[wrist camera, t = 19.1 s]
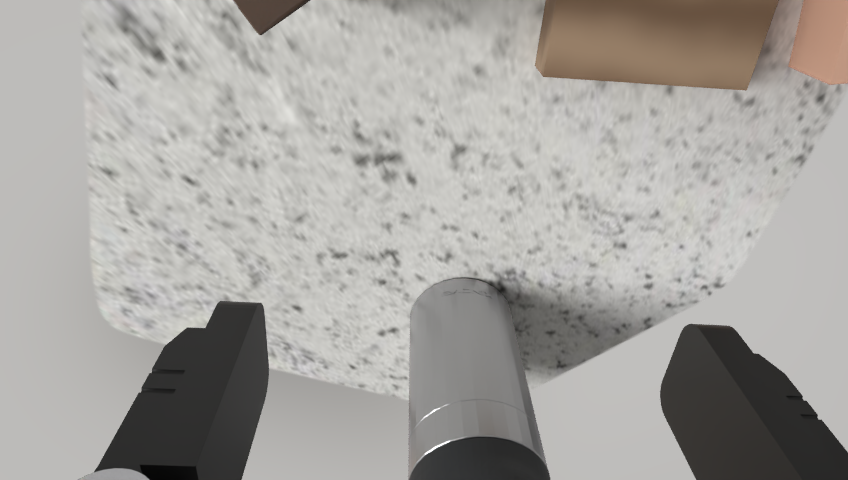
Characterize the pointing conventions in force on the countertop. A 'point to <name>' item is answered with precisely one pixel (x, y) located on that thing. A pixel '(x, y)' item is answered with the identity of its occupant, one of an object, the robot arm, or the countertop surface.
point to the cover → (822, 41)
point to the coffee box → (267, 12)
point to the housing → (654, 41)
